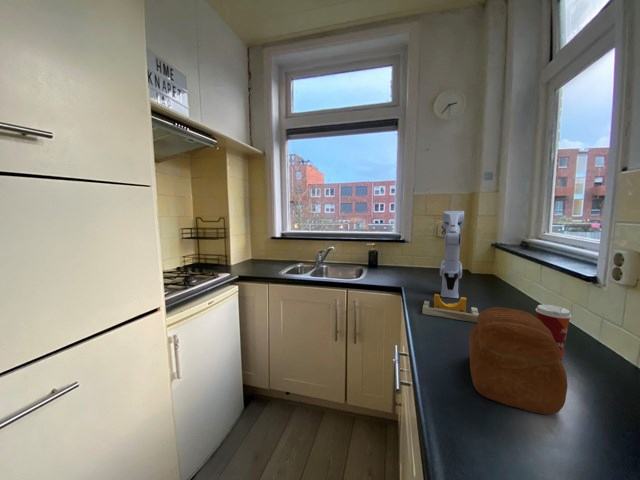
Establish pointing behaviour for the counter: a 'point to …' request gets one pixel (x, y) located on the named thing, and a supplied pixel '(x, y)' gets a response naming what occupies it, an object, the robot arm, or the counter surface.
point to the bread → (517, 361)
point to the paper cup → (555, 323)
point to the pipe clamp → (452, 307)
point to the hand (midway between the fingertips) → (450, 289)
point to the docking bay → (451, 313)
